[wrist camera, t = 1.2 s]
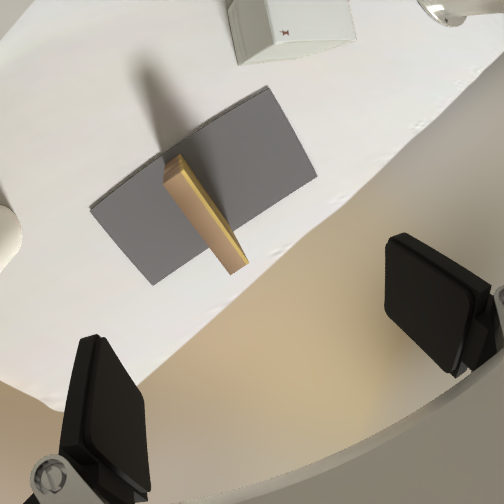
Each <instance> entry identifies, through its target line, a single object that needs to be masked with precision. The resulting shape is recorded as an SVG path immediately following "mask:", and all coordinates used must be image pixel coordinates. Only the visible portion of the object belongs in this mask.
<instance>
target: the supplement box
mask: <svg viewBox="0 0 504 504" xmlns="http://www.w3.org/2000/svg"><path fill="white" fill-rule="evenodd" d="M228 16H229V22H230V27H231V32H232V37H233V42H234V47H235V51H236V56H237V61H238V66H243V65H250V64H258V63H268V62H277V61H288V60H299V59H301V58H304V57H307V56H310V55H313V54H315V53H318V52H321V51H324V50H328V49H331V48H334V47H337V46H340V45H343V44H346V43H350V42H353V41H356V40H357V38H356V33H355V29H354V24H353V19H352V15H351V10H350V6H349V2H348V0H234V1H233V2H232V4H231V6H230V7H229V9H228Z"/></svg>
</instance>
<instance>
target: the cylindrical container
mask: <svg viewBox="0 0 504 504" xmlns="http://www.w3.org/2000/svg"><path fill="white" fill-rule="evenodd" d="M21 244H22V228H21V225H20V222H19V220H18V218H17V217H16V215H15V214H14V213H13V212H12V211H11V210H10V209H9V208H7V207H5V206H3V205H0V272H1V271H2V270H3V269H4V267H5V266H6V265H7V264H8V263H9V261H10V260H11V259H12V258H13V257H14V256H15V254H16V253H17V252H18V251H19V249H20V247H21Z"/></svg>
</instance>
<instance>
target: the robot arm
mask: <svg viewBox="0 0 504 504" xmlns="http://www.w3.org/2000/svg"><path fill="white" fill-rule="evenodd" d="M418 2H419V3H420V5H421V6H422V7H423V9H424V10H425V11H426V12H427V13H428V14H429V16H430V17H432V18H433V19H434V20H435V21H437V22H438V23H440V24H441V25H444V26H447V27H457V26H460V25H461V24H463V23H464V21H465V20H466V17H467V16H470V15H481V14H495V13H504V0H418ZM490 290H491V285H490V284H488V283H487V282H486V281H484V280H483V279H481V278H480V277H478V276H476V275H475V274H473V273H472V272H470V271H469V270H467V269H466V268H464V267H462V266H460V265H459V264H458V263H456V262H454V261H453V260H451V259H449V258H448V257H446V256H445V255H443V254H441V253H439V252H438V251H436V250H435V249H433V248H431V247H429V246H428V245H426V244H424V243H423V242H421V241H419V240H418V239H416V238H414V237H412V236H411V235H409V234H407V233H401V234H398V235H395V236H393V237H390V238H389V240H388V243H387V244H386V247H385V303H384V307H385V312H386V314H387V315H388V317H389V318H390V319H392V320H393V321H394V322H395V323H396V324H397V325H398V326H399V327H400V328H401V329H402V330H403V331H404V332H405V333H406V334H407V335H408V336H409V337H410V338H411V339H412V340H413V341H414V342H416V344H417V345H418V346H420V348H421V349H422V350H423V351H424V352H425V353H426V354H427V355H428V356H429V357H430V358H431V359H433V360H434V362H435V363H436V364H437V365H438V366H439V367H440V368H441V369H442V370H443V371H445V372H446V373H450V374H451V375H452V376H454V378H457V377H459V376H460V375H461V374H463V373H464V372H465V371H466V370H467V368H470V370H471V374H470V375H468V376H467V377H466V378H464V379H463V380H462V381H460V382H459V383H458V384H456V385H455V386H453V387H452V388H450V389H449V390H447V391H446V392H444V393H443V394H441V395H440V396H439V397H437V398H435V399H434V400H432V401H431V402H429V403H428V404H426V405H425V406H423V407H421V408H420V409H418V410H417V411H415V412H414V413H412V414H410V415H408V416H407V417H405V418H403V419H402V420H400V421H398V422H397V423H395V424H393V425H391V426H389V427H387V428H386V429H384V430H382V431H380V432H378V433H376V434H374V435H372V436H370V437H369V438H367V439H365V440H363V441H361V442H359V443H357V444H354V445H352V446H350V447H348V448H346V449H344V450H342V451H339V452H337V453H335V454H333V455H331V456H328V457H326V458H324V459H321V460H319V461H316V462H314V463H312V464H309V465H307V466H304V467H302V468H299V469H296V470H294V471H291V472H288V473H285V474H283V475H280V476H277V477H274V478H271V479H268V480H265V481H262V482H259V483H256V484H253V485H249V486H246V487H242V488H239V489H235V490H231V491H228V492H224V493H220V494H216V495H212V496H207V497H203V498H198V499H194V500H189V501H185V502H179V503H174V504H504V285H503V286H501V287H498V288H497V289H496V290H495V292H494V295H491V294H490ZM146 441H147V440H146V425H145V409H144V399H143V397H142V394H141V392H140V391H139V389H138V388H137V386H136V385H135V383H134V382H133V380H132V379H131V377H130V376H129V374H128V373H127V371H126V370H125V368H124V367H123V365H122V363H121V362H120V360H119V359H118V357H117V355H116V354H115V352H114V351H113V349H112V347H111V346H110V344H109V342H108V341H107V339H106V338H105V337H102V338H101V337H100V336H99V335H98V334H95V335H92V336H88V337H85V338H82V339H80V341H79V345H78V349H77V353H76V357H75V362H74V366H73V371H72V375H71V380H70V385H69V390H68V395H67V400H66V406H65V412H64V418H63V424H62V431H61V438H60V445H59V454H58V455H55V454H51V455H48V456H44V457H43V458H42V459H40V460H39V461H38V462H37V463H36V464H35V465H34V468H33V469H32V471H31V476H30V485H31V488H32V490H33V492H34V493H33V494H32V495H31V496H30V497H29V498H28V499H27V500H26V501H25V502H24V503H23V504H135V503H137V502H146V501H148V498H147V492H150V491H151V482H150V474H149V464H148V452H147V442H146Z"/></svg>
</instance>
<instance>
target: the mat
mask: <svg viewBox="0 0 504 504" xmlns="http://www.w3.org/2000/svg"><path fill="white" fill-rule="evenodd" d="M179 154H181V155H182V157H183V158H184V160H185V161H186V163H187V164H188V166H189V167H190V169H191V170H192V171H193V173H194V174H195V176H196V177H197V179H198V180H199V182H200V183H201V184H202V186H203V187H204V189H205V190H206V192H207V193H208V195H209V196H210V198H211V199H212V200H213V202H214V203H215V205H216V206H217V208H218V209H219V211H220V212H221V213H222V215H223V216H224V218H225V219H226V221H227V222H228V224H229V225H230V227H231V229H232V231H234V230H236V229H237V228H239V227H240V226H242V225H243V224H245V223H247V222H248V221H250V220H251V219H253V218H254V217H256V216H257V215H259V214H260V213H262V212H263V211H265V210H266V209H268V208H269V207H271V206H272V205H274V204H275V203H277V202H279V201H280V200H282V199H283V198H285V197H286V196H288V195H289V194H291V193H292V192H294V191H296V190H297V189H299V188H300V187H302V186H303V185H305V184H306V183H308V182H310V181H311V180H313V179H314V178H316V177H317V174H316V172H315V170H314V168H313V166H312V164H311V162H310V161H309V159H308V157H307V155H306V153H305V151H304V149H303V147H302V145H301V143H300V142H299V140H298V138H297V136H296V134H295V132H294V131H293V129H292V127H291V125H290V123H289V122H288V120H287V118H286V116H285V114H284V113H283V111H282V109H281V107H280V106H279V104H278V102H277V100H276V99H275V97H274V95H273V94H272V92H271V90H270V89H267V90H265V91H263V92H262V93H260V94H258V95H256V96H254V97H253V98H251V99H249V100H247V101H246V102H244V103H242V104H241V105H239V106H237V107H235V108H234V109H232V110H230V111H229V112H227V113H225V114H224V115H222V116H221V117H219V118H217V119H216V120H214V121H212V122H211V123H209V124H208V125H206V126H205V127H203V128H201V129H200V130H198V131H197V132H195V133H194V134H192V135H191V136H189V137H188V138H186V139H185V140H183V141H182V142H180V143H179V144H177V145H176V146H174V147H173V148H171V149H170V150H169V151H167V152H166V153H164V154H163V155H161V156H160V157H159V158H157V159H156V160H154V161H153V162H152V163H150V164H149V165H148V166H146V167H145V168H143V169H142V170H141V171H139V172H138V173H137V174H135V175H134V176H133V177H131V178H130V179H129V180H128V181H126V182H125V183H124V184H122V185H121V186H120V187H118V188H117V189H116V190H115V191H113V192H112V193H111V194H110V195H108V196H107V197H106V198H105V199H103V200H102V201H101V202H100V203H99V204H97V205H96V206H95V207H94V208H93V209H91V210H90V212H91V213H92V215H93V216H94V217H95V218H96V220H97V221H98V222H99V223H100V225H101V226H102V227H103V228H104V230H105V231H106V232H107V233H108V235H109V236H110V237H111V238H112V239H113V241H114V242H115V243H116V244H117V245H118V247H119V248H120V249H121V250H122V251H123V252H124V254H125V255H126V256H127V257H128V258H129V259H130V261H131V262H132V263H133V264H134V265H135V266H136V267H137V269H138V270H139V271H140V272H141V273H142V274H143V275H144V276H145V278H146V279H147V280H148V281H149V282H150V283H151V284H152V285H155V284H156V283H158V282H159V281H161V280H162V279H164V278H165V277H166V276H168V275H169V274H171V273H172V272H174V271H175V270H177V269H178V268H180V267H181V266H182V265H184V264H185V263H187V262H188V261H190V260H191V259H193V258H194V257H196V256H197V255H199V254H200V253H202V252H203V251H205V250H206V249H208V248H209V246H208V245H207V244H206V242H205V241H204V240H203V238H202V237H201V236H200V234H199V233H198V232H197V230H196V229H195V228H194V226H193V225H192V224H191V222H190V221H189V220H188V218H187V217H186V216H185V214H184V213H183V212H182V210H181V209H180V207H179V206H178V205H177V203H176V202H175V201H174V199H173V198H172V197H171V195H170V194H169V192H168V191H167V190H166V188H165V187H164V186H163V178H164V168H165V164H166V163H168V162H169V161H171V160H172V159H173V158H175V157H176V156H178V155H179Z"/></svg>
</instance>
